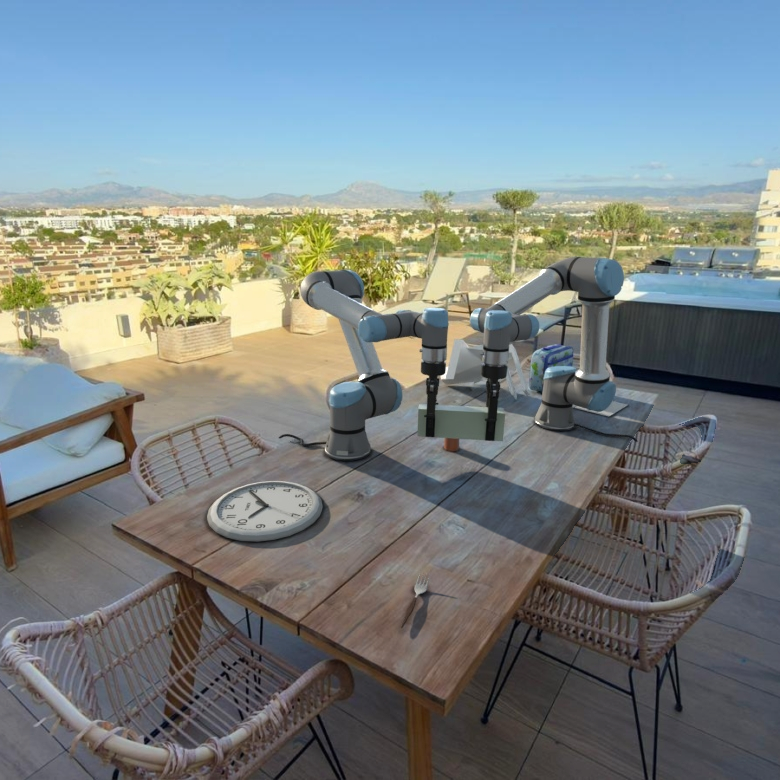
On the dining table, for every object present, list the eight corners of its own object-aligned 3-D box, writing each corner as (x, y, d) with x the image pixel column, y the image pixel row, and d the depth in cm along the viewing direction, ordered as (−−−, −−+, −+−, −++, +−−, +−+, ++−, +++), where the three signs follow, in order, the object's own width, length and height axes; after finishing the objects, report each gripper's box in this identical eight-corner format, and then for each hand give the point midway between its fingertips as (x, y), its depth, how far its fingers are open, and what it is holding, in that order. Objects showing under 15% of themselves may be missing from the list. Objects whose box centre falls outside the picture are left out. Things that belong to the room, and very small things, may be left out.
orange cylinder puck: (458, 445, 183) (459, 430, 181) (458, 451, 178) (459, 435, 177) (444, 445, 184) (445, 429, 182) (444, 450, 179) (444, 434, 177)
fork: (394, 628, 99) (394, 619, 99) (419, 578, 113) (419, 570, 113) (407, 632, 98) (408, 623, 98) (430, 581, 113) (431, 573, 112)
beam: (501, 435, 163) (503, 408, 161) (502, 441, 159) (505, 413, 156) (418, 430, 166) (419, 403, 163) (417, 436, 161) (418, 408, 159)
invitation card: (608, 416, 214) (573, 407, 224) (608, 416, 214) (573, 408, 224) (628, 404, 229) (594, 396, 238) (628, 405, 229) (594, 397, 238)
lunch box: (545, 397, 238) (550, 352, 231) (524, 391, 245) (529, 348, 239) (572, 386, 255) (578, 344, 249) (552, 381, 262) (557, 340, 256)
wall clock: (320, 533, 126) (192, 537, 124) (320, 539, 127) (193, 543, 124) (324, 476, 155) (220, 479, 152) (324, 481, 155) (221, 484, 153)
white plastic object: (461, 429, 252) (437, 405, 227) (444, 352, 274) (420, 323, 250) (535, 404, 240) (518, 377, 215) (510, 326, 262) (492, 293, 237)
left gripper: (423, 352, 167) (420, 418, 173) (418, 369, 147) (416, 443, 153) (446, 353, 166) (443, 420, 173) (445, 370, 146) (441, 445, 153)
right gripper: (480, 356, 163) (475, 425, 170) (483, 371, 146) (478, 447, 153) (504, 357, 162) (499, 426, 169) (510, 372, 145) (504, 449, 152)
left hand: (430, 431), depth 163 cm, fingers open, 8 cm apart
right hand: (489, 436), depth 161 cm, fingers closed on beam, 5 cm apart
